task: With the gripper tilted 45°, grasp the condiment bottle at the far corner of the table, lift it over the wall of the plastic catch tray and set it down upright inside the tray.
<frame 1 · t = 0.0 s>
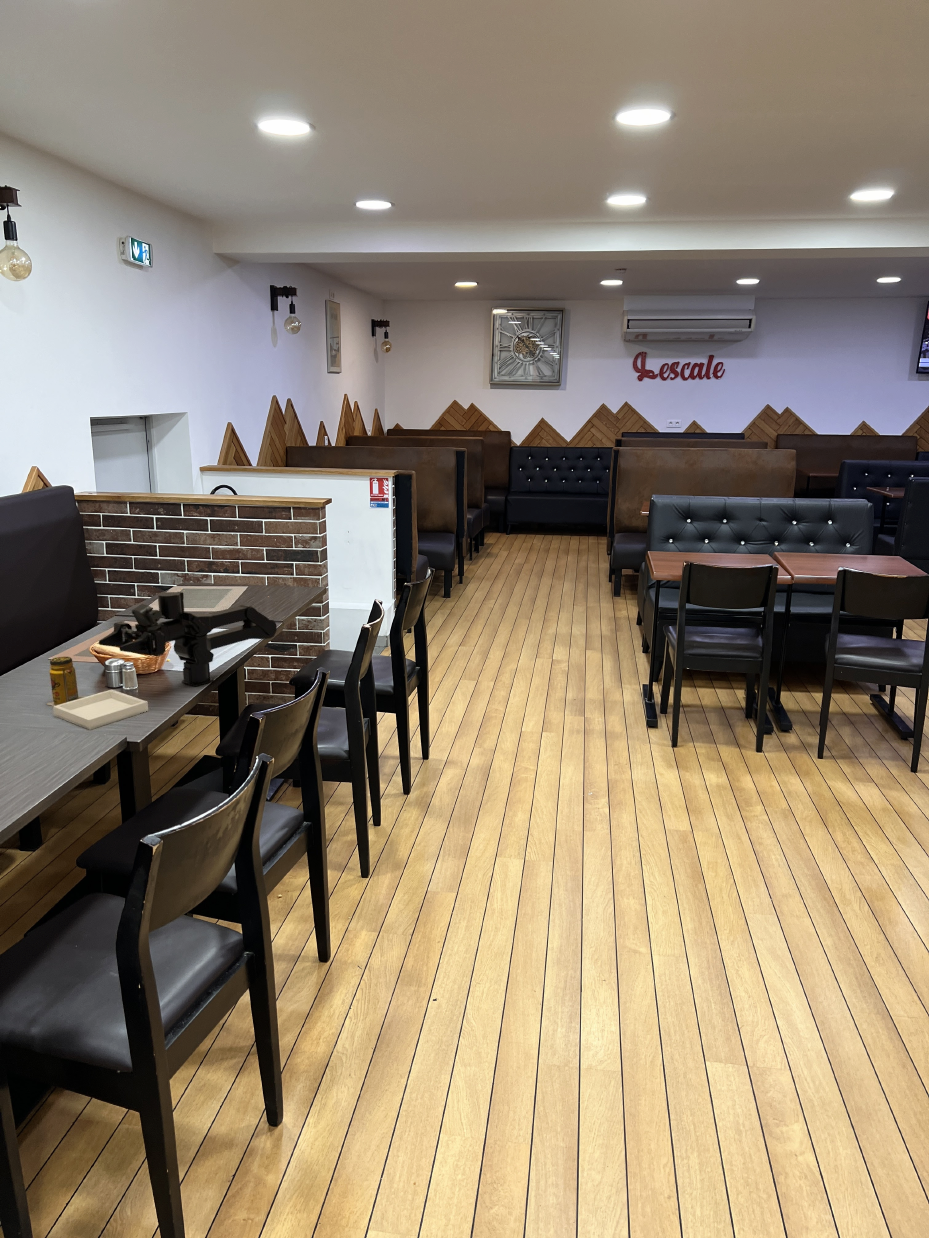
hand: (109, 645, 215), 17 cm above the table, tool horizontal, fingers open, 9 cm apart
condiment: (69, 702, 224), on the table
catch tray: (101, 713, 215), on the table
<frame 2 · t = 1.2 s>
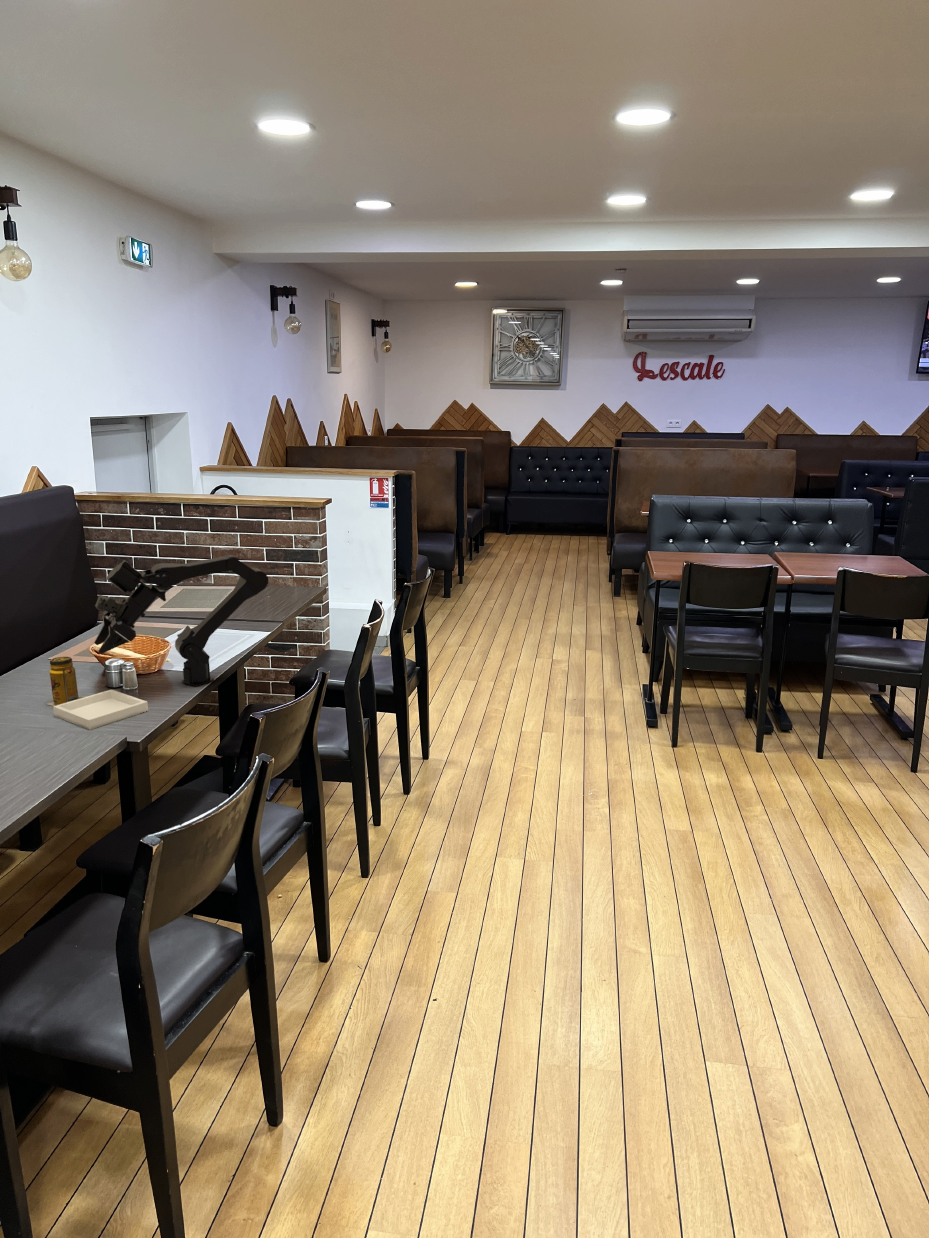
hand: (97, 648, 224), 13 cm above the table, tool tilted 45°, fingers open, 9 cm apart
nothing on the table moved.
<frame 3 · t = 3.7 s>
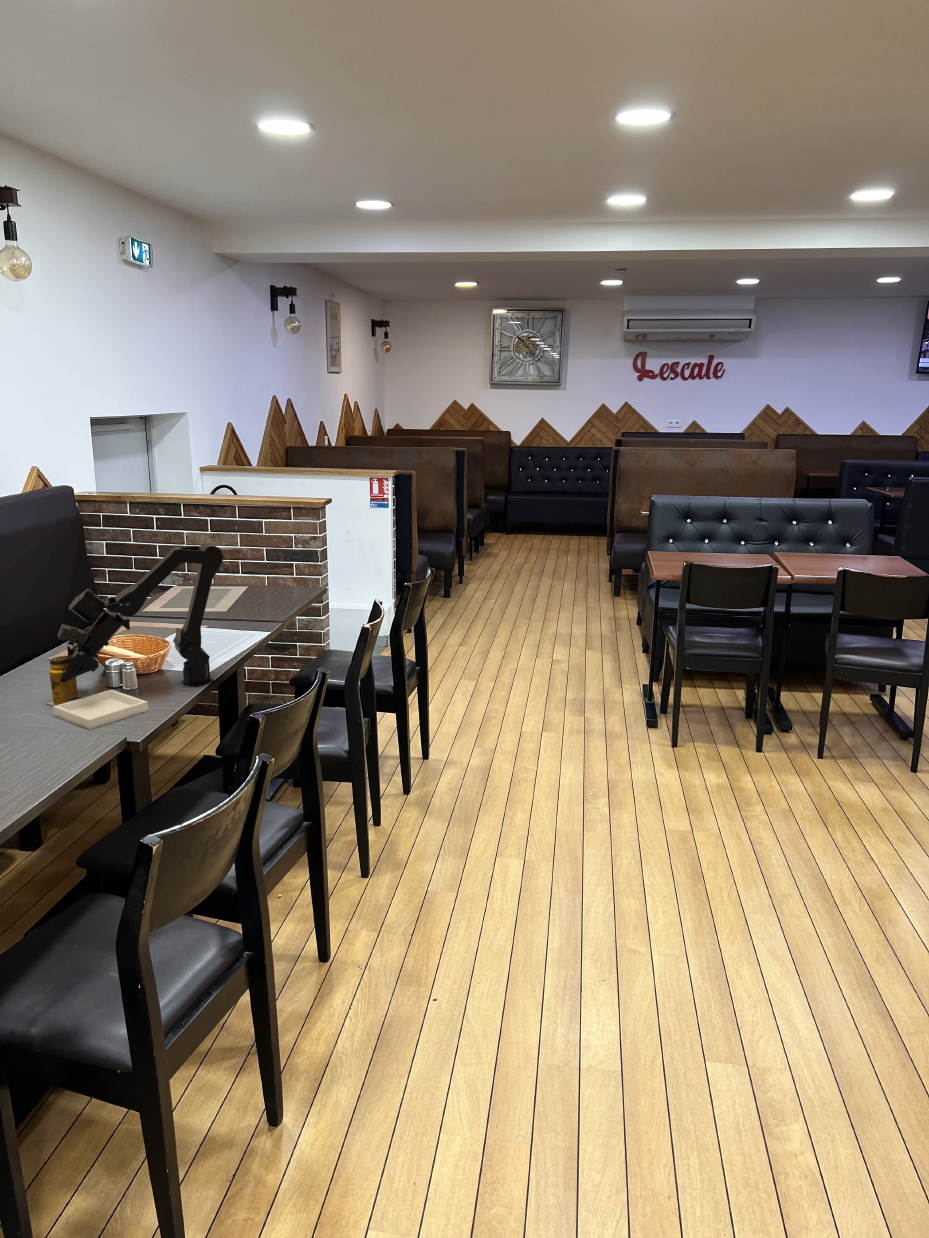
hand: (60, 678, 221), 7 cm above the table, tool tilted 45°, fingers closed on condiment, 6 cm apart
condiment: (69, 701, 224), on the table, touching gripper
when the fingers open (8 cm above the table, at t = 9.2 s): condiment drops 1 cm, resting on catch tray.
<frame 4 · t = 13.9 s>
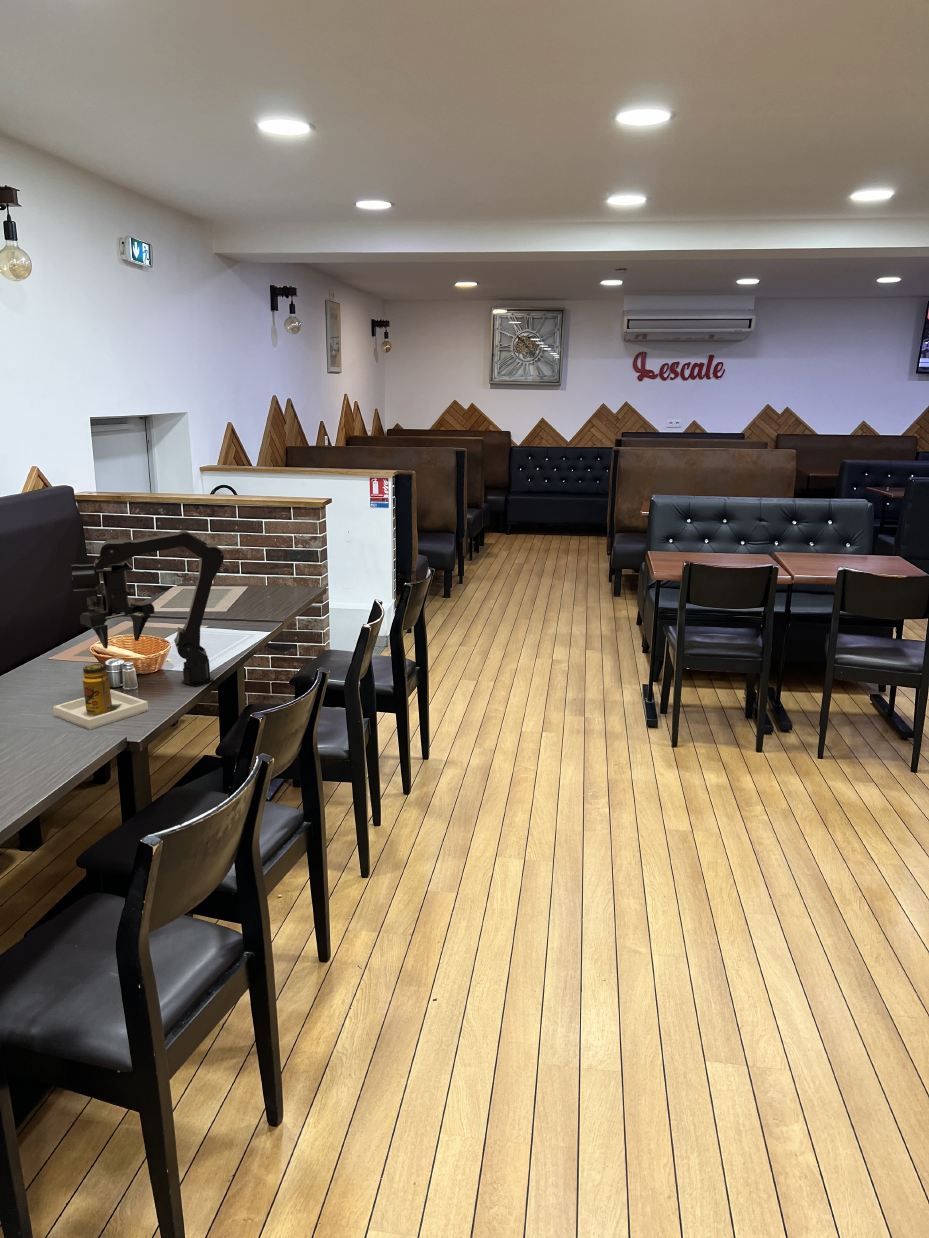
hand: (121, 644, 229), 13 cm above the table, tool pointing down, fingers open, 9 cm apart
condiment: (101, 711, 216), resting on catch tray
at the end: condiment inside the target area on the catch tray (0.4 cm from its centre), point 0.4 cm above the catch tray's base; condiment tilted 0°; the gripper is holding nothing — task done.
